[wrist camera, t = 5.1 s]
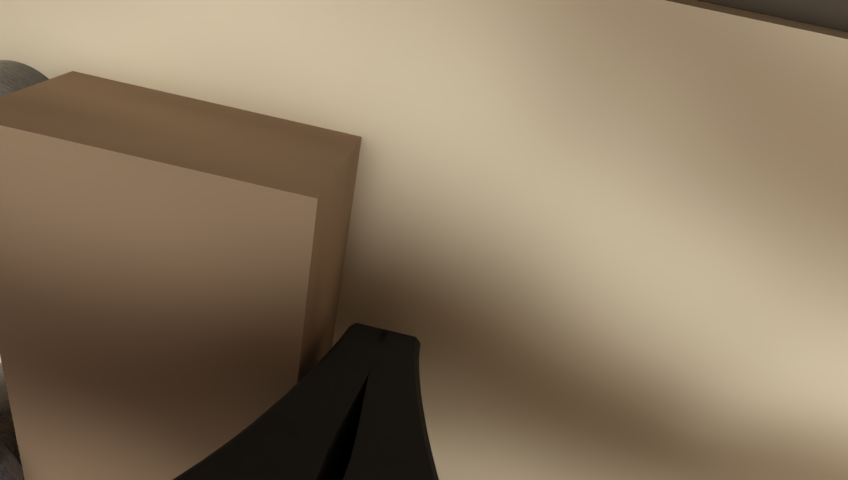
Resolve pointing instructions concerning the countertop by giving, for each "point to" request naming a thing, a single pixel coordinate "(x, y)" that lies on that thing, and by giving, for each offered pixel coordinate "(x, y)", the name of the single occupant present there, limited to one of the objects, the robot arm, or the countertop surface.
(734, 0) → the countertop surface
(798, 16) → the countertop surface
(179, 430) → the tan cardboard box
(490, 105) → the bench board
